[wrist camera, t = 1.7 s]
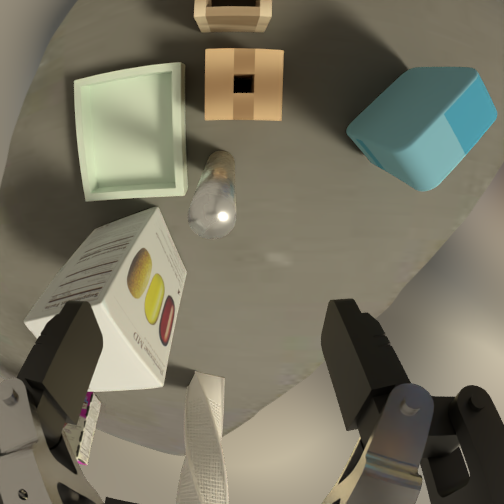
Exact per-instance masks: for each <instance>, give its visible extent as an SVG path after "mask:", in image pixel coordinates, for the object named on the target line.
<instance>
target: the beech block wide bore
mask: <svg viewBox="0 0 504 504" xmlns="http://www.w3.org/2000/svg"><path fill="white" fill-rule="evenodd" d="M271 17H272V0H255V7H247V6H221V7H212V0H195V4H194V18H195V20H196V22H197V24H198V26H199V28H200V30H201V32H202V33H204V32H264V31H265V29H266V27H267V25H268V23H269V21H270V19H271Z"/></svg>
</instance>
